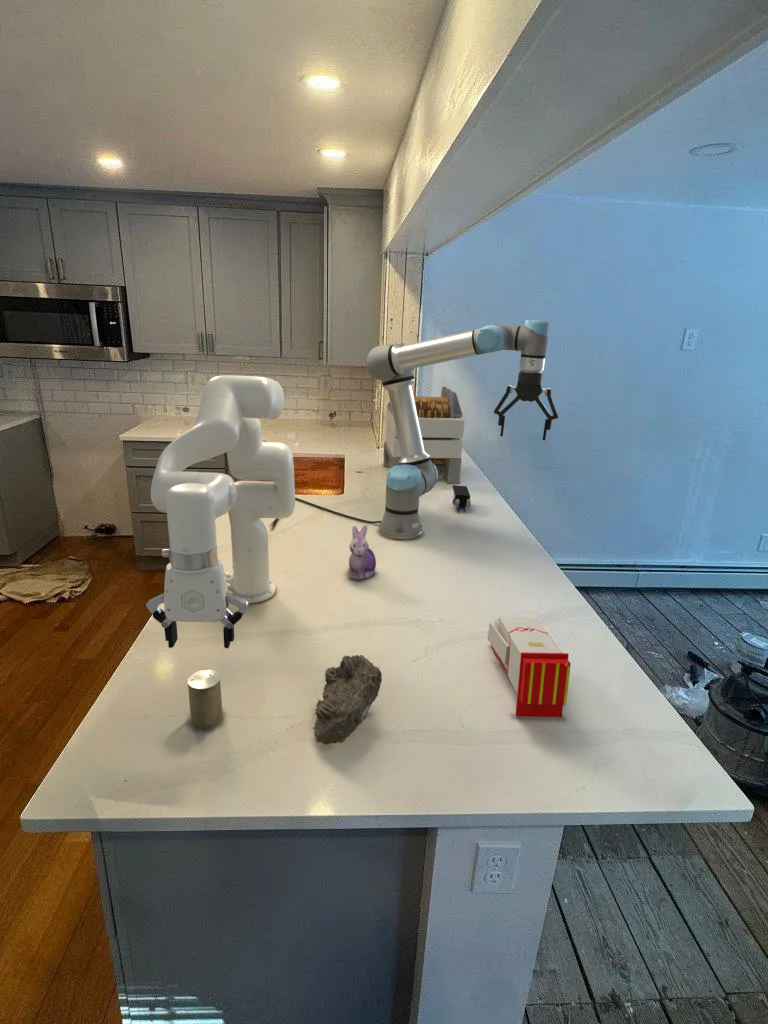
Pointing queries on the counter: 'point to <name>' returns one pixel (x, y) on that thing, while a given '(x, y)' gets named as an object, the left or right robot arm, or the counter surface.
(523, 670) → the toy
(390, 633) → the counter surface
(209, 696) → the can
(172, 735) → the counter surface
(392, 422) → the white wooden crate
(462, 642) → the counter surface
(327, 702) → the fossil
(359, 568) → the figurine
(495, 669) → the counter surface
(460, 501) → the figurine character
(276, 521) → the feather
